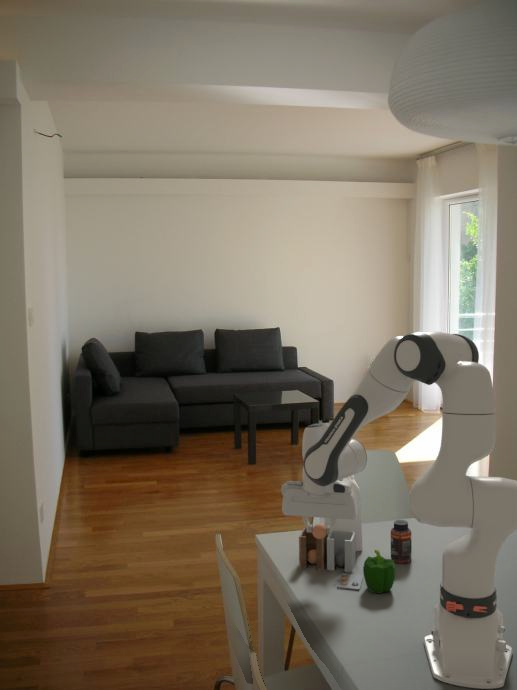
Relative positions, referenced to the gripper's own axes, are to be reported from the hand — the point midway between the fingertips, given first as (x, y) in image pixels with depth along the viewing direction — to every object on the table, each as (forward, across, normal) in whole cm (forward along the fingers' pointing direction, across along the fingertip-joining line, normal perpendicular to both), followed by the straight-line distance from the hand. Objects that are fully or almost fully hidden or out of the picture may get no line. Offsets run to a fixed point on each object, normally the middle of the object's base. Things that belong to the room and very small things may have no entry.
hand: (319, 532), depth 190 cm
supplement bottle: (+13, +20, +18) cm, 30 cm away
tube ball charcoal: (+13, +4, +10) cm, 17 cm away
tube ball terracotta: (+13, -4, +10) cm, 17 cm away
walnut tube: (+13, -4, +10) cm, 17 cm away
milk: (+13, +2, +26) cm, 29 cm away
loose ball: (+2, 0, 0) cm, 2 cm away
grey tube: (+13, +4, +10) cm, 17 cm away
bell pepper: (+14, +16, -2) cm, 21 cm away
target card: (+13, +8, 0) cm, 16 cm away
